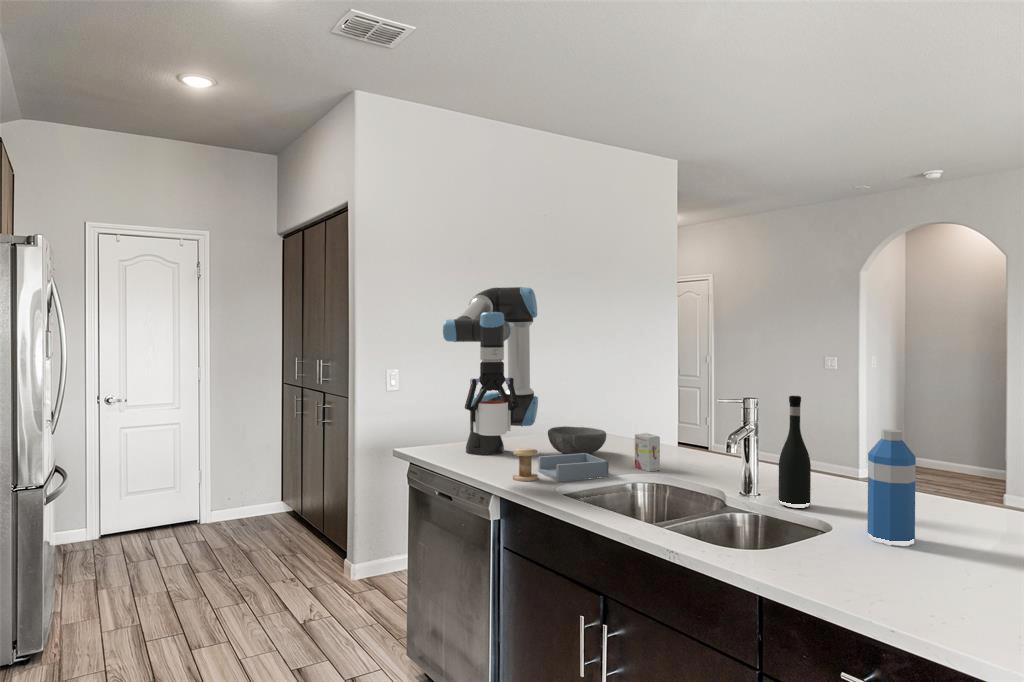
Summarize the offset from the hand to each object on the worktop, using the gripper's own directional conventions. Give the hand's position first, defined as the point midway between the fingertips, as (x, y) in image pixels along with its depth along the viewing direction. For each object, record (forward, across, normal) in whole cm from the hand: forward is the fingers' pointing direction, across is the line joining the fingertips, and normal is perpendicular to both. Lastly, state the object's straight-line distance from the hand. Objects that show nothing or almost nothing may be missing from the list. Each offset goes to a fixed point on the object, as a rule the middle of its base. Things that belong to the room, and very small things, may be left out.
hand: (492, 431), depth 208 cm
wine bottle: (+16, +68, -56) cm, 90 cm away
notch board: (+16, +29, +1) cm, 33 cm away
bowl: (+16, +45, +32) cm, 58 cm away
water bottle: (+16, +66, -87) cm, 111 cm away
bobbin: (+16, +12, +1) cm, 20 cm away
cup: (+1, 0, 0) cm, 1 cm away
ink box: (+16, +57, 0) cm, 59 cm away
